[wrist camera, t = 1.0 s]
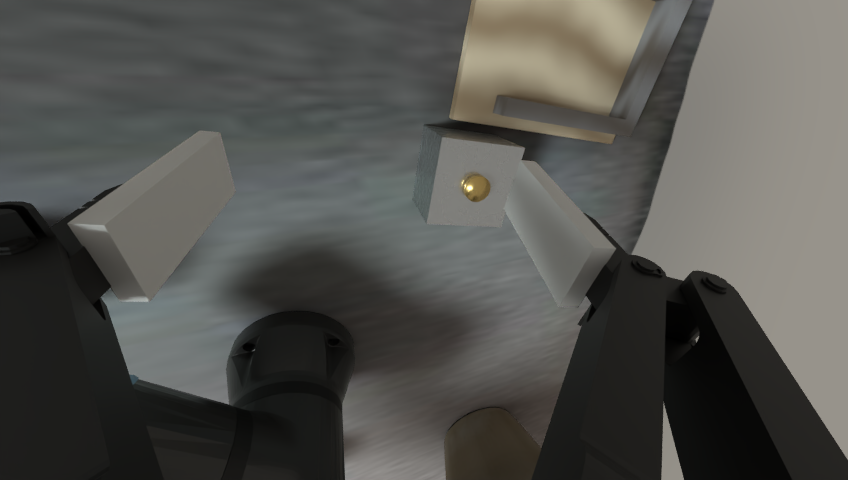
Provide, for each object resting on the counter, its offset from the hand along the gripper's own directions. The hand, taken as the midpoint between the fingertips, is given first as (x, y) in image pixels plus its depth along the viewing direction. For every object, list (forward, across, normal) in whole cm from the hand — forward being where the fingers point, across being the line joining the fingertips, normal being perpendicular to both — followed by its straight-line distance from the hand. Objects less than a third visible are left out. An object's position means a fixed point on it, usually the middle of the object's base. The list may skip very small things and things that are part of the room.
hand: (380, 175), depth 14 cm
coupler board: (+21, -17, -5) cm, 28 cm away
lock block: (+18, -8, +7) cm, 21 cm away
